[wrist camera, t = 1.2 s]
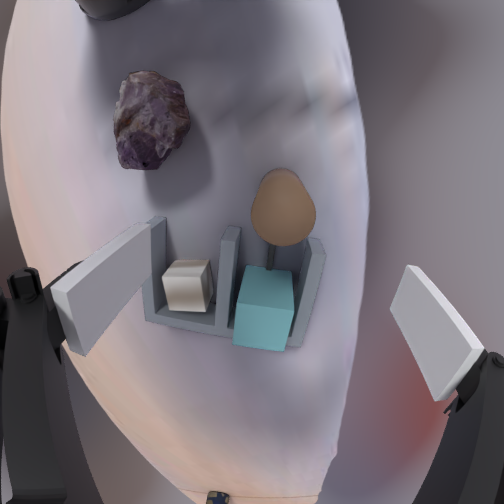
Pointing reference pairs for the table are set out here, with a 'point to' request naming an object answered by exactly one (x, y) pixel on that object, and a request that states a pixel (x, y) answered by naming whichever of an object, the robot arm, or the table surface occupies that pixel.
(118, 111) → the rock
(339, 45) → the table surface
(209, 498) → the canister
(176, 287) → the cream cube
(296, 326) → the lane rack
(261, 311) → the block
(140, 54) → the table surface
